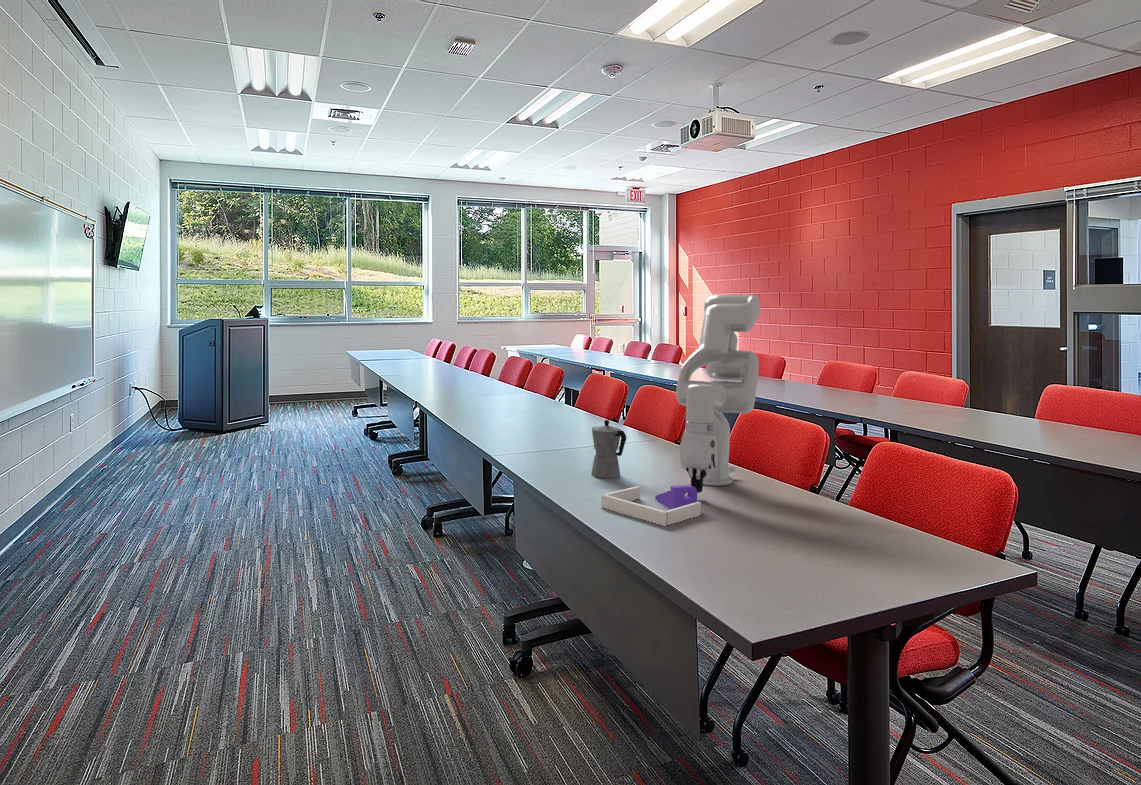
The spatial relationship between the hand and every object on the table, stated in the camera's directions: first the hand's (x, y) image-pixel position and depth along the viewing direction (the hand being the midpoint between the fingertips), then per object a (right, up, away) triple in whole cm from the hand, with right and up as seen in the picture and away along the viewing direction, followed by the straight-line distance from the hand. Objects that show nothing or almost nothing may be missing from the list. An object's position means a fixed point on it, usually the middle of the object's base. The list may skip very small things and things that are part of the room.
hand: (696, 491), depth 199 cm
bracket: (-7, -3, -6) cm, 10 cm away
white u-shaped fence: (-14, -3, -13) cm, 20 cm away
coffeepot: (-24, +1, +26) cm, 35 cm away
